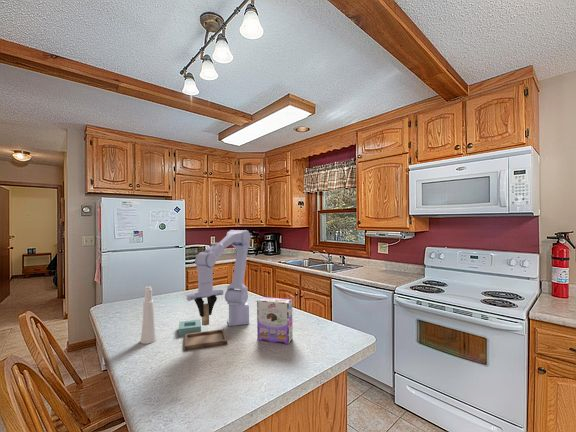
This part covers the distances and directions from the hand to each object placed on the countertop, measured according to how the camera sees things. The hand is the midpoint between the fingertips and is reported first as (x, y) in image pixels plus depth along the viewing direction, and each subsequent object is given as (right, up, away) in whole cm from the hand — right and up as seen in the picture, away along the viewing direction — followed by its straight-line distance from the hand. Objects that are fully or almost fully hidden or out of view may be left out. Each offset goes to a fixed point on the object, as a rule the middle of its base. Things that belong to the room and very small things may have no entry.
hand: (205, 315), depth 115 cm
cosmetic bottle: (-23, -11, 0) cm, 26 cm away
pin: (0, -4, 0) cm, 4 cm away
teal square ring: (-10, -11, +10) cm, 18 cm away
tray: (0, -10, 0) cm, 10 cm away
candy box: (+28, -11, +1) cm, 30 cm away
